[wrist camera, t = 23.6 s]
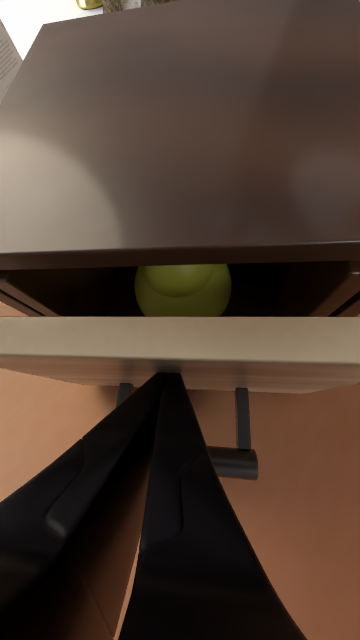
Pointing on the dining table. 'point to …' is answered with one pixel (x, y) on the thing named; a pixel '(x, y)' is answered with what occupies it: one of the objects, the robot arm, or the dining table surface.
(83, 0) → the vase
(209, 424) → the dining table surface
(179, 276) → the pear
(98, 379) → the drawer
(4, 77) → the small box
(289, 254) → the cabinet
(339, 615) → the dining table surface
